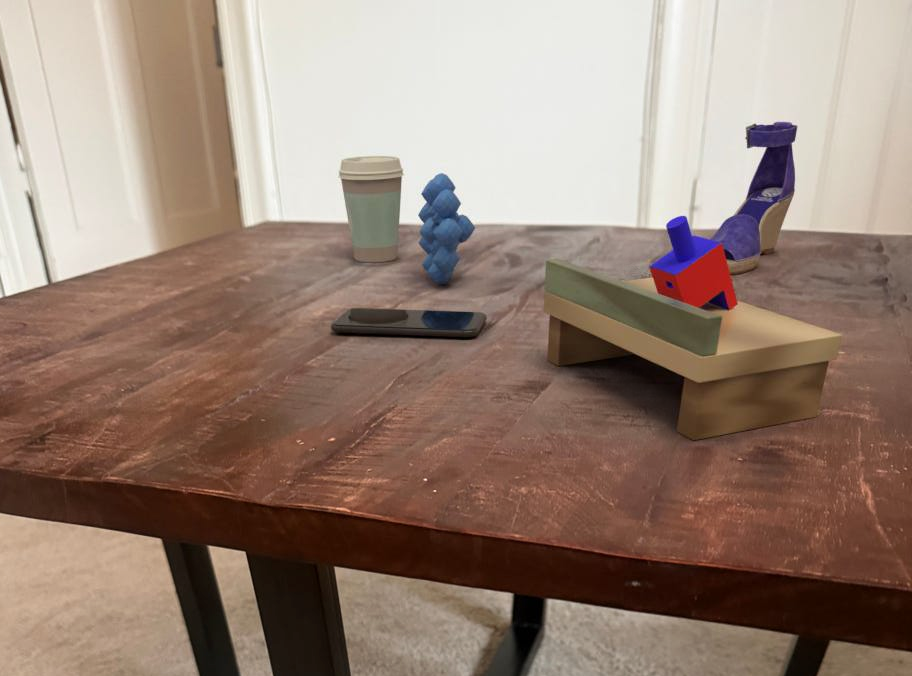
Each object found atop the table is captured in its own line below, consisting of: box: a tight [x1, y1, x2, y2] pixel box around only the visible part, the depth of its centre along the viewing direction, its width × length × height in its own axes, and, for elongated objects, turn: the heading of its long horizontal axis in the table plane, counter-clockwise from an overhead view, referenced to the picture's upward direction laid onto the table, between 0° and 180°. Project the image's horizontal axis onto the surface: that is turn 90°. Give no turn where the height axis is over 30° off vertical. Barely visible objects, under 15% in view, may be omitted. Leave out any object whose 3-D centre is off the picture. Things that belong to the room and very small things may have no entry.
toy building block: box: [648, 215, 738, 310], centre depth 67 cm, size 4×4×8 cm
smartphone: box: [330, 307, 488, 338], centre depth 88 cm, size 7×1×15 cm
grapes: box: [417, 172, 476, 285], centre depth 102 cm, size 12×7×12 cm, turn 13°
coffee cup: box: [338, 155, 405, 264], centre depth 116 cm, size 9×9×12 cm
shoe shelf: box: [543, 258, 843, 441], centre depth 69 cm, size 12×22×8 cm, turn 22°
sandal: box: [710, 121, 798, 276], centre depth 107 cm, size 8×20×15 cm, turn 133°
